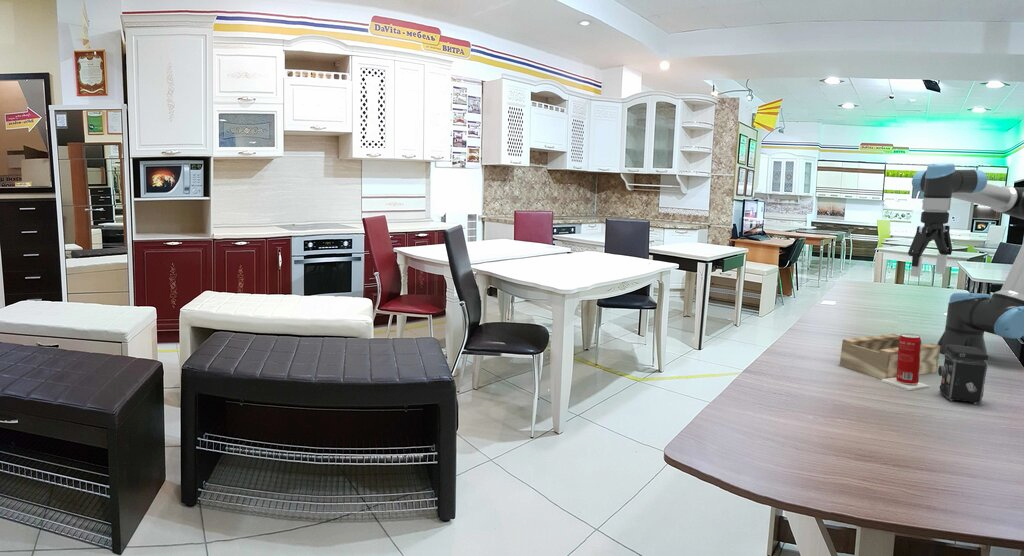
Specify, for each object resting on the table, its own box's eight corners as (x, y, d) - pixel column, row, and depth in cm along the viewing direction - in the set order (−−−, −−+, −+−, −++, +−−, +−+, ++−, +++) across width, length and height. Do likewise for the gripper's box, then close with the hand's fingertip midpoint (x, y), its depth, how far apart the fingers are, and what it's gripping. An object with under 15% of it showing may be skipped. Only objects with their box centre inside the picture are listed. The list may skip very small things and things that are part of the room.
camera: (971, 394, 180) (979, 345, 177) (985, 406, 170) (994, 355, 167) (930, 389, 183) (938, 341, 181) (942, 400, 173) (950, 350, 171)
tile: (899, 378, 193) (900, 376, 193) (928, 387, 185) (928, 385, 185) (880, 381, 189) (881, 379, 189) (909, 390, 181) (909, 388, 181)
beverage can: (921, 386, 184) (928, 338, 181) (898, 384, 185) (905, 336, 182) (912, 380, 189) (919, 333, 187) (889, 378, 190) (896, 332, 188)
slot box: (890, 358, 216) (893, 334, 214) (936, 372, 201) (940, 345, 200) (839, 365, 205) (842, 339, 204) (884, 379, 191) (888, 352, 189)
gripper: (945, 209, 207) (938, 271, 210) (900, 211, 196) (893, 275, 200) (970, 211, 200) (961, 274, 204) (924, 212, 190) (916, 279, 193)
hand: (927, 275), depth 202 cm, fingers open, 13 cm apart
